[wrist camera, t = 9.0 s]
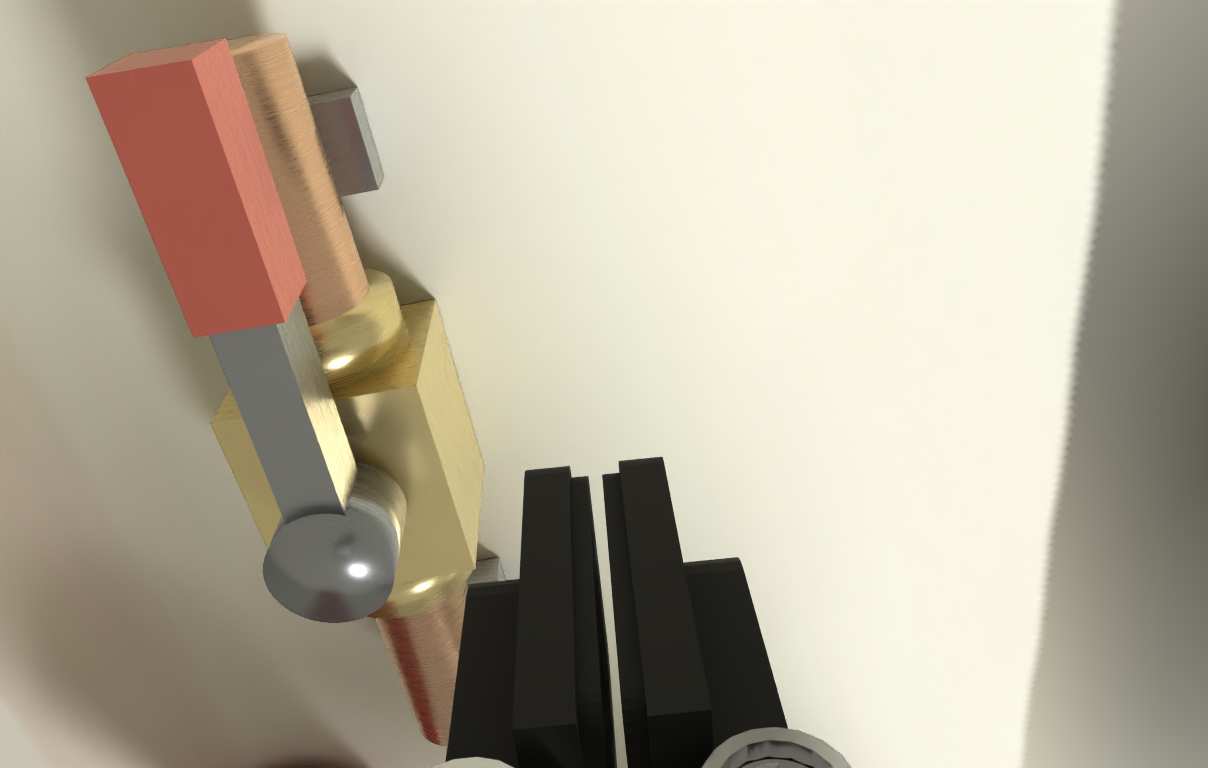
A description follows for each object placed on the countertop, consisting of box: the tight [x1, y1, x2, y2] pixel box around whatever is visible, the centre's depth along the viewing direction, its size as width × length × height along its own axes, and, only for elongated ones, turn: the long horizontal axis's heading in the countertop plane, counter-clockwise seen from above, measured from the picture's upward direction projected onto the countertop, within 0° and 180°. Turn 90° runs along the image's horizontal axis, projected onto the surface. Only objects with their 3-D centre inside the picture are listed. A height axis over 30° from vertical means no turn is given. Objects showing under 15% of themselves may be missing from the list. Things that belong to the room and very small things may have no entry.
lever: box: [86, 38, 407, 623], centre depth 21 cm, size 13×3×3 cm, turn 8°
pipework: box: [210, 33, 506, 746], centre depth 27 cm, size 22×5×5 cm, turn 10°
